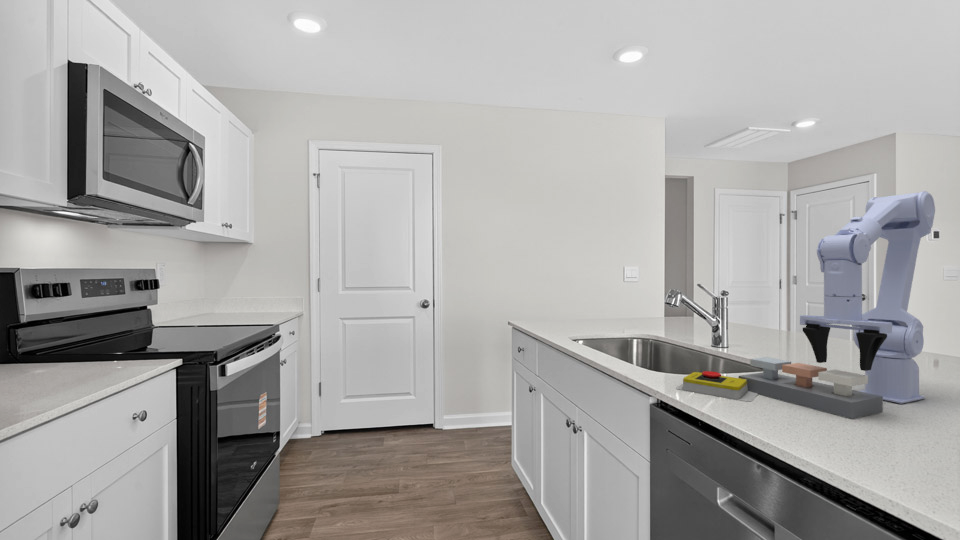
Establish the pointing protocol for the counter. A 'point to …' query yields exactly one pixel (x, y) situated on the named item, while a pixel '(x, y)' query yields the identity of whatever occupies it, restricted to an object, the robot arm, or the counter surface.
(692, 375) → the emergency button
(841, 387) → the ivory key
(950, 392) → the counter surface
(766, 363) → the slate key
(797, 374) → the terracotta key
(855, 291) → the robot arm
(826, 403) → the key console
